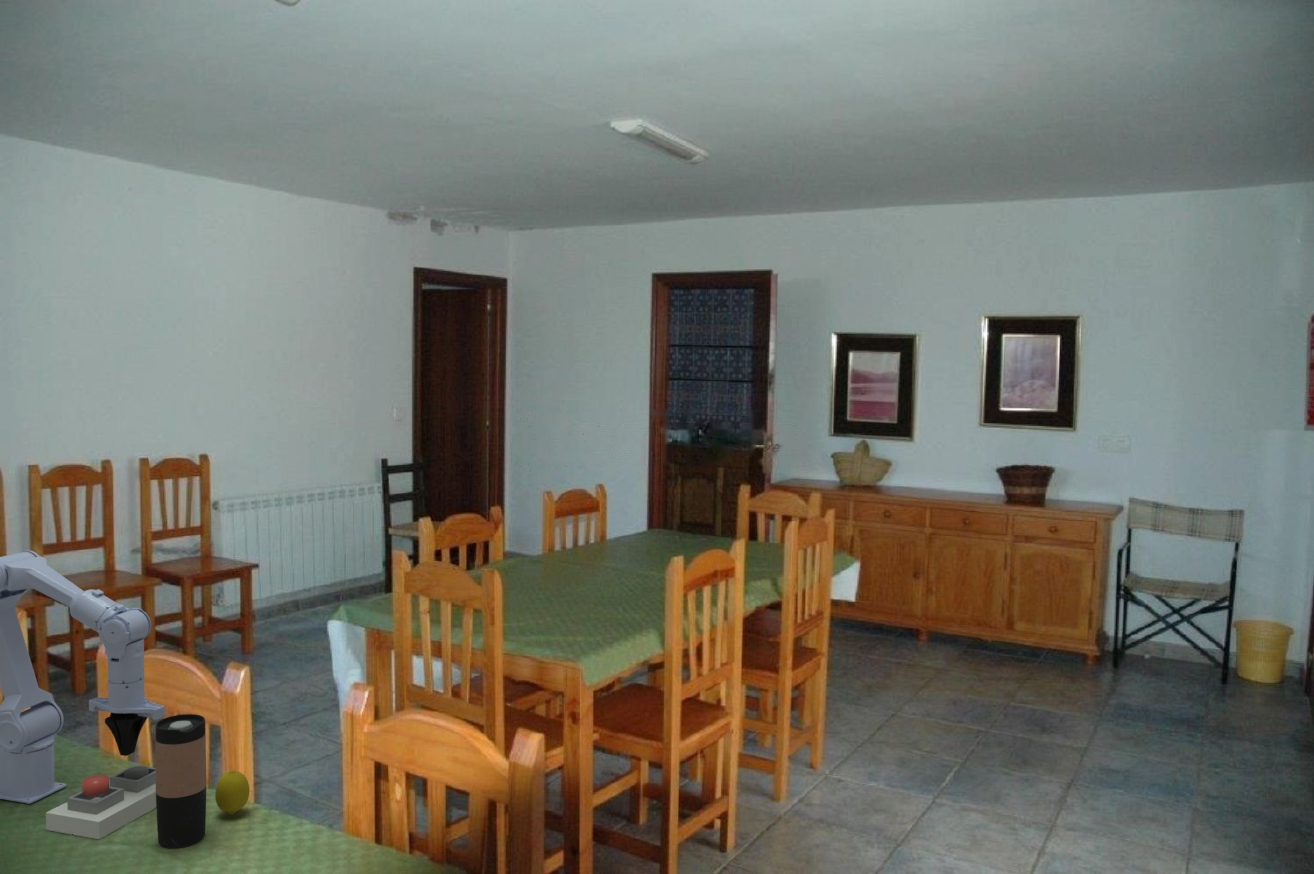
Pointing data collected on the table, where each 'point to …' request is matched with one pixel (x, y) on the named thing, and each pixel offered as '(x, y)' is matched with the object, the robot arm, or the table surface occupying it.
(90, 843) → the table surface
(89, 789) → the red button
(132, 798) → the button panel
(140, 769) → the grey button
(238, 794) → the lemon
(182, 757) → the travel mug
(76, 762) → the table surface
